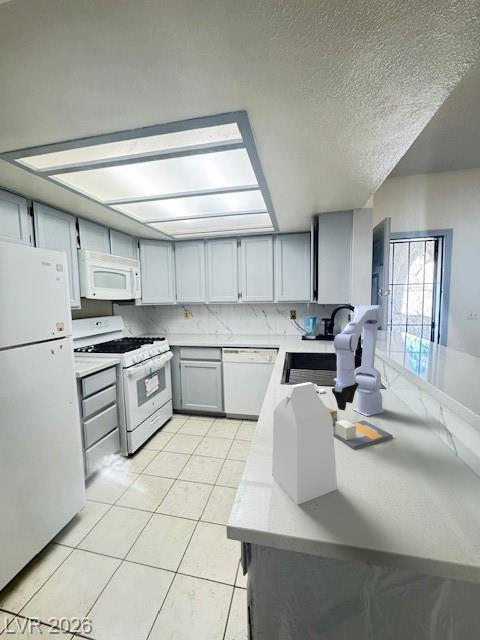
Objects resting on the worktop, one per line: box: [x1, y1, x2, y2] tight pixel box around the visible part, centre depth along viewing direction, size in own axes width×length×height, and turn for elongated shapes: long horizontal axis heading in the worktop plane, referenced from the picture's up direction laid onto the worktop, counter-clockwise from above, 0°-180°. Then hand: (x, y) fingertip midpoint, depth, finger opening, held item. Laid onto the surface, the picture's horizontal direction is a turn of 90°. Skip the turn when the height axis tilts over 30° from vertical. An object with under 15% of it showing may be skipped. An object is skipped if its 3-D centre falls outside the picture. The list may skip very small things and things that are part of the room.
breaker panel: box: [333, 419, 393, 450], centre depth 92 cm, size 17×12×1 cm
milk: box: [271, 381, 338, 506], centre depth 69 cm, size 12×12×26 cm
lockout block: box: [326, 406, 338, 425], centre depth 102 cm, size 4×4×5 cm
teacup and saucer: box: [313, 383, 325, 394], centre depth 135 cm, size 9×8×4 cm
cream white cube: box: [335, 419, 356, 440], centre depth 90 cm, size 4×5×4 cm
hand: (345, 406), depth 94 cm, fingers open, 7 cm apart
